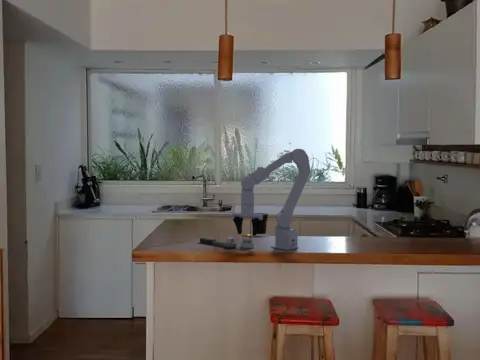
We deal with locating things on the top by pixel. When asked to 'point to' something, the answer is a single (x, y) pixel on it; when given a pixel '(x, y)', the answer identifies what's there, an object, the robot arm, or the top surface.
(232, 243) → the ratchet
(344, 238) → the top surface
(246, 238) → the socket
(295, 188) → the robot arm
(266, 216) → the coffee mug
